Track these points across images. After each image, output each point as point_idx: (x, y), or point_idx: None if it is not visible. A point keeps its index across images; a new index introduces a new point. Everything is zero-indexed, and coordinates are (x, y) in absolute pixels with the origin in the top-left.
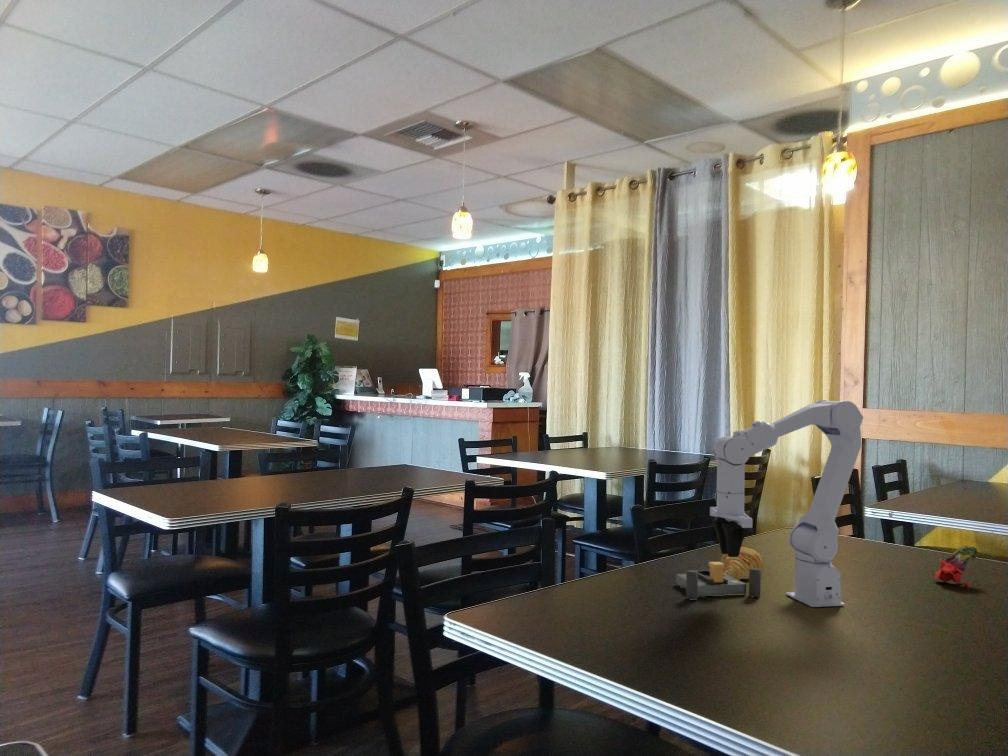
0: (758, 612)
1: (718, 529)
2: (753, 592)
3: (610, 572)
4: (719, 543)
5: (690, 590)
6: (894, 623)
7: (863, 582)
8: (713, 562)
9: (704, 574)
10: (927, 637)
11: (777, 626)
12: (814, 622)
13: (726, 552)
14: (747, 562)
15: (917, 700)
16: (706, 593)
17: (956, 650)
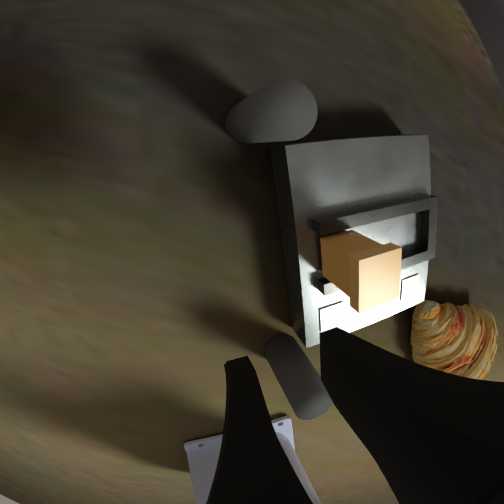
0: (109, 320)
1: (455, 433)
2: (272, 352)
3: (472, 26)
4: (382, 352)
5: (237, 105)
6: (119, 499)
7: (343, 488)
8: (392, 268)
9: (420, 235)
10: (66, 499)
11: (2, 327)
12: (67, 415)
13: (325, 359)
14: (441, 370)
15: None
16: (280, 190)
17: (29, 495)
